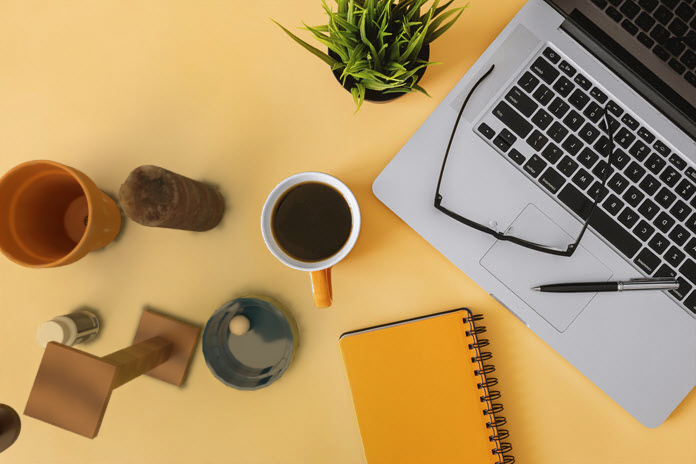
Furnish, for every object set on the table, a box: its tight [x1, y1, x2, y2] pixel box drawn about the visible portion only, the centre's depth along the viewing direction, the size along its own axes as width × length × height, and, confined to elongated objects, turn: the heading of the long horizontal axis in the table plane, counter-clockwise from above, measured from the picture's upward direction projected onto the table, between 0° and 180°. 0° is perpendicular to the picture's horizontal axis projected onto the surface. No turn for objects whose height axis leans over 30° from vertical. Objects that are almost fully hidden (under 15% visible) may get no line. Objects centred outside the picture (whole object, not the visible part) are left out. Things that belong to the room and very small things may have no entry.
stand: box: [22, 309, 202, 440], centre depth 62 cm, size 9×9×24 cm
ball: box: [229, 315, 250, 336], centre depth 72 cm, size 3×3×3 cm
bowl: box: [201, 294, 300, 392], centre depth 71 cm, size 13×13×6 cm
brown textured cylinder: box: [118, 164, 226, 233], centre depth 65 cm, size 8×7×20 cm
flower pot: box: [0, 159, 122, 270], centre depth 69 cm, size 14×14×13 cm
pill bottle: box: [35, 310, 100, 350], centre depth 71 cm, size 5×5×8 cm
